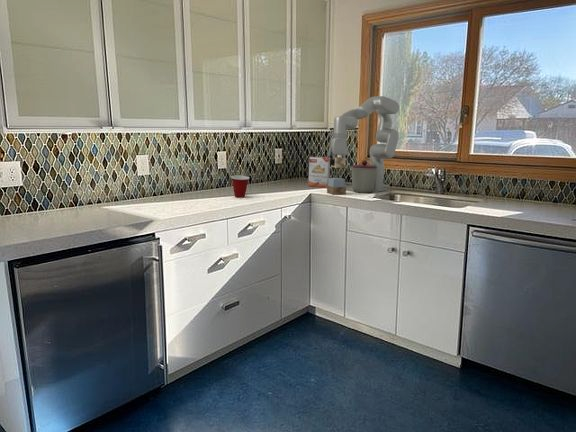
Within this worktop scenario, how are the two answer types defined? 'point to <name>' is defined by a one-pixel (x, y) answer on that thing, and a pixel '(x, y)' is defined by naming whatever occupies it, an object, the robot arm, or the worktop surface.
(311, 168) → the cracker box
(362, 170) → the canister
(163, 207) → the worktop surface
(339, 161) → the oak cube
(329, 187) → the tower base
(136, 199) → the worktop surface
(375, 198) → the worktop surface
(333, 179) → the tower top
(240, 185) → the plastic cup
